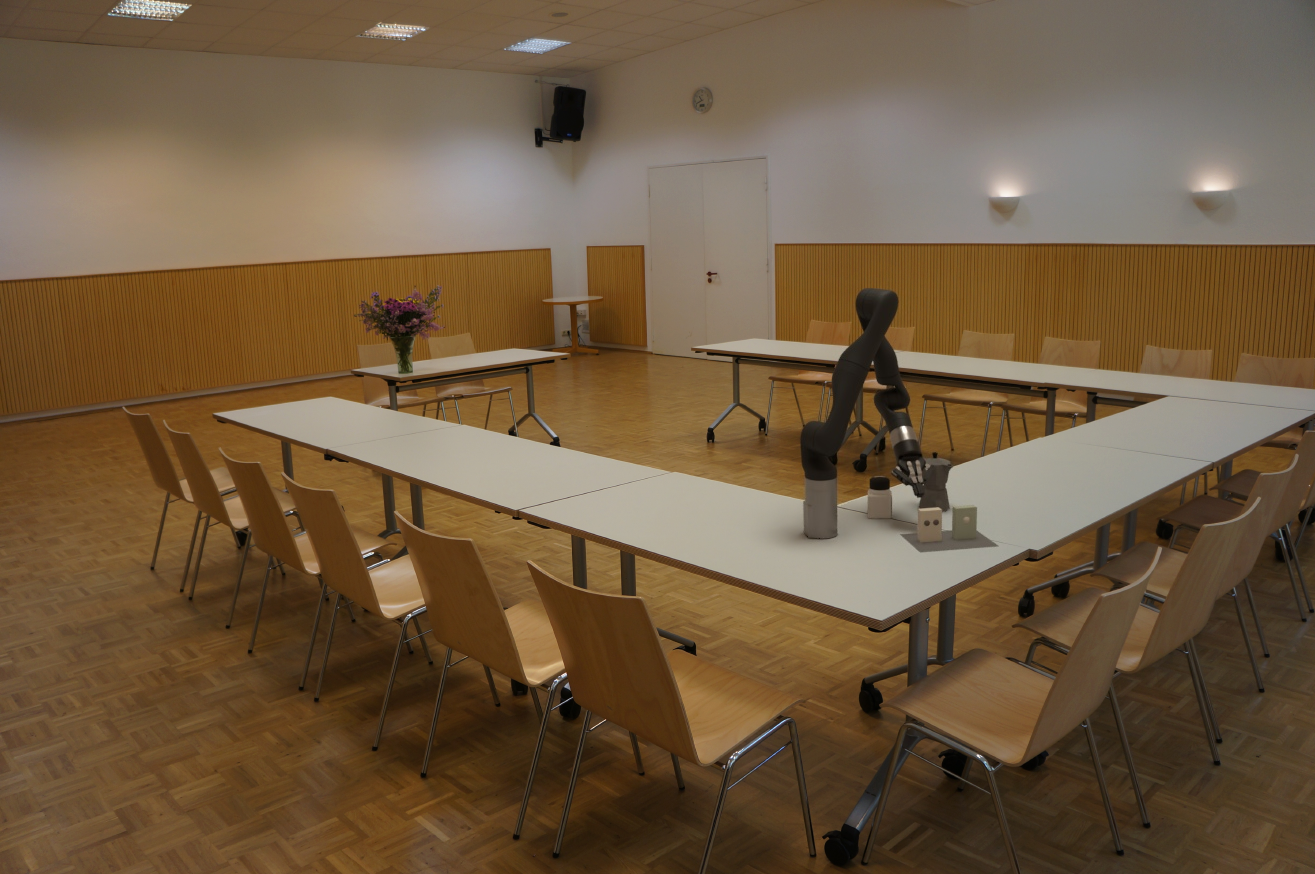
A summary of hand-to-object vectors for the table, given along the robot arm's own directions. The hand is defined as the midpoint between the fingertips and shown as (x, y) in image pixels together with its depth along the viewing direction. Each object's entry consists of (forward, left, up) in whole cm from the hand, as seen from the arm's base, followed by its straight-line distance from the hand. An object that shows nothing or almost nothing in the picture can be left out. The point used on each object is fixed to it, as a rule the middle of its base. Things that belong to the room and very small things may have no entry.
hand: (920, 496), depth 270 cm
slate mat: (+5, -9, -11) cm, 15 cm away
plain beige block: (0, -8, -11) cm, 13 cm away
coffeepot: (+13, +24, -11) cm, 30 cm away
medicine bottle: (-5, +20, -12) cm, 24 cm away
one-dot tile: (+10, -8, -11) cm, 16 cm away
